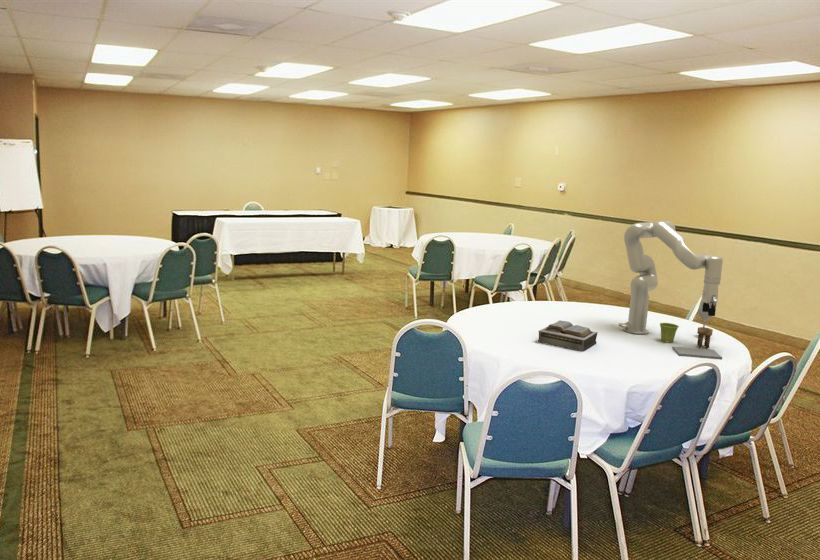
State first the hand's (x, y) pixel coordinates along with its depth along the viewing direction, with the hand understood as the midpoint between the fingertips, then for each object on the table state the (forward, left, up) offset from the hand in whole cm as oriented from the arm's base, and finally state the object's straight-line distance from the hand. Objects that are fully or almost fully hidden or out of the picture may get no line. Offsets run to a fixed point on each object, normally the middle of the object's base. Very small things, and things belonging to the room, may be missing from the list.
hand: (708, 313), depth 333 cm
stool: (0, 0, -18) cm, 18 cm away
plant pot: (-16, +7, -18) cm, 25 cm away
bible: (-70, -14, -18) cm, 74 cm away
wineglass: (+6, +22, -18) cm, 29 cm away
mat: (-7, -14, -18) cm, 24 cm away
